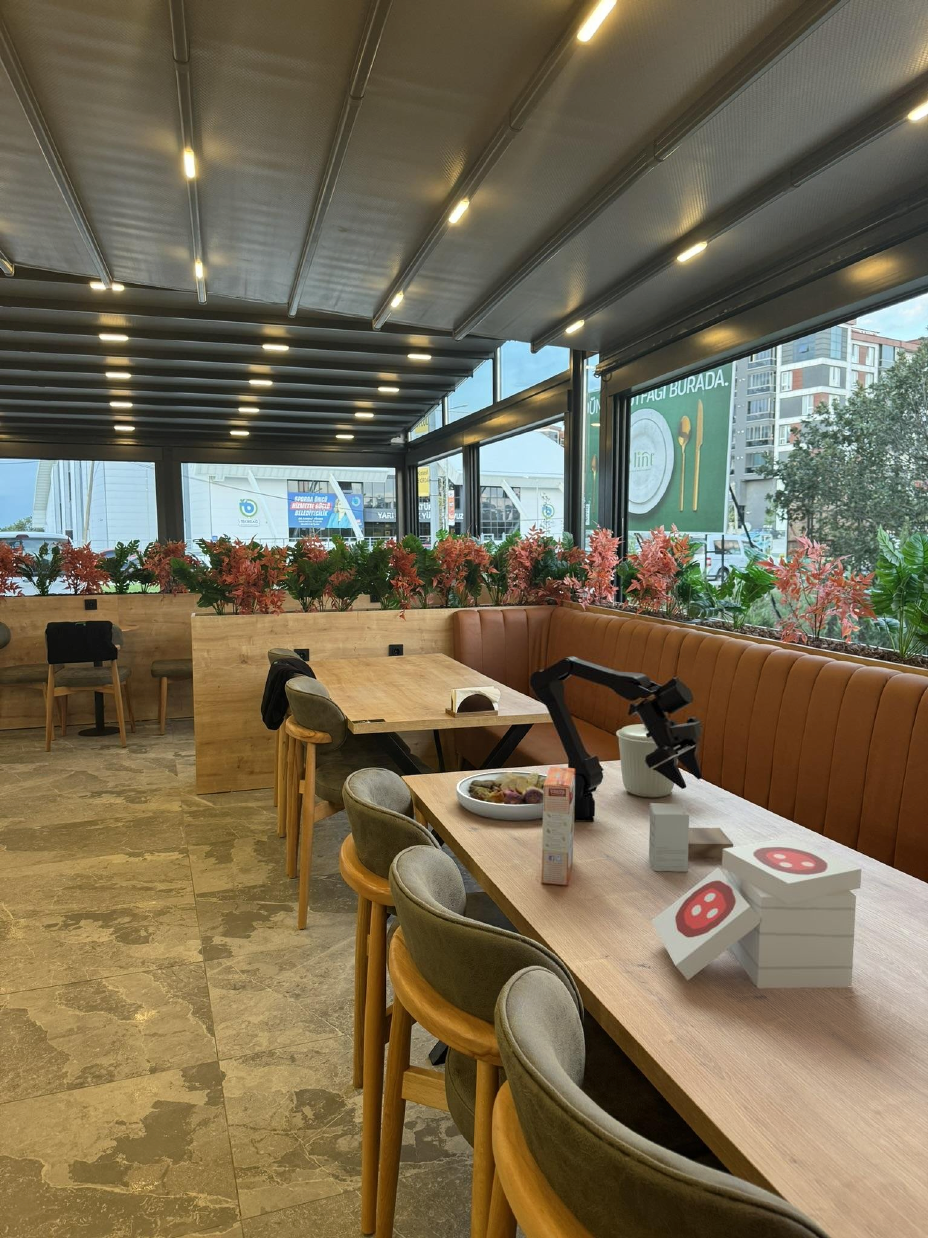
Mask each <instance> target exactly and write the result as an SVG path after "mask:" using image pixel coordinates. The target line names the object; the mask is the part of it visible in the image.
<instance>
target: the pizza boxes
mask: <svg viewBox="0 0 928 1238" xmlns="http://www.w3.org/2000/svg"><path fill="white" fill-rule="evenodd" d="M721 861H722V862H721V867H722V868H723V869H725V870H726V873H727V875H725V874H724V873H723V872H722V870H721V869H720V868H719V867H717V868H715V869H714V870H713V871H712V872H711V873H709V874H708V875H707V876H706V877H704V878H703V879H701V880H700V881H699V882H698V883H696V885H694V886H693V887H692V888H691V889H689V890H688V891H687V892H686V893H685V894H683V895H682V896H681V897H679V898H678V899H677V900H676V901H674V902H673V903H672V904H670V905H669V906H668V907H666V909H664V910H663V911H661V912H660V914H658V915H657V916H656V917H655V918H653V919H652V920H651V924H653V927H654V929H655V930H656V932H657V934H658V936H659V938H660V940H661V942H662V943H663V945H664V947H665V949H666V951H667V953H668V955H669V956H670V959H671V960H672V962H673V964H674V966H675V967H676V968H677V969H678V970H679V971H680V972H681V974H682V975H683V976H684V978H685V979H686V980H687V981H689V980H690V979H691V978H693V977H694V976H695V975H697V973H699V972H701V970H703V969H704V968H705V967H706V966H708V965H710V964H711V963H712V962H713V961H714V960H715V959H717V958H718V957H720V956H721V955H722V954H724V952H725V951H727V950H728V949H730V951H731V952H732V954H733V955H734V956H735V958H736V959H737V960H738V962H739V964H740V966H742V968H743V969H744V971H745V972H746V974H747V975H748V977H749V978H750V979H751V981H752V983H753V984H754V985H755V987H757V989H803V988H802V987H804V989H806V988H808V989H809V988H811V989H812V988H813V989H814V988H818V989H819V988H824V987H825V988H849V987H848V986H852V985H853V983H852V982H853V968H854V967H853V965H854V945H855V944H854V943H855V929H856V928H855V924H856V908H857V907H856V906H857V905H856V904H857V895H855V893H853V892H852V891H853V890H857V889H861V884H862V883H861V882H862V868H861V867H859V866H856V865H854V864H852V863H849V862H847V861H845V860H843V859H841V858H840V857H839V858H838V857H837V856H834V855H831V853H830V854H829V853H827V852H826V851H823V850H821V849H819V848H816V847H815V846H813V845H810V844H808V843H805V842H803V841H802V840H799V839H797V838H794V837H792V836H788V837H784V838H783V837H782V838H776V839H772V840H766V841H759V842H755V843H749V844H743V845H737V846H733V847H731V848H725V849H723V857H722V860H721ZM798 987H799V988H798ZM800 987H801V988H800ZM805 987H806V988H805ZM852 987H853V986H852ZM825 988H824V989H825Z"/></svg>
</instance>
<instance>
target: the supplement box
mask: <svg viewBox="0 0 928 1238" xmlns="http://www.w3.org/2000/svg"><path fill="white" fill-rule="evenodd" d="M689 828H690V814H689V812H688V811H687V809H686V807H685V805H684V804H683V803H656V802H655V803H653V802H650V803H649V837H648V838H649V841H648V843H649V844H648V859H649V861H650V863H651V866H652V869H653V872H680V873H682V872H683V873H685V872H686V873H687V872H688V871H689V860H688V842H689Z"/></svg>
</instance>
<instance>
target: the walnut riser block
mask: <svg viewBox="0 0 928 1238" xmlns="http://www.w3.org/2000/svg"><path fill="white" fill-rule="evenodd" d="M731 847H734V843H733V841H731V839H730V838H729V837H728V836H727V835H726V833H725V832H724V831H723V830H722V829H721V827H689V842H688V861H722V857H723V849H725V848H731Z"/></svg>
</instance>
